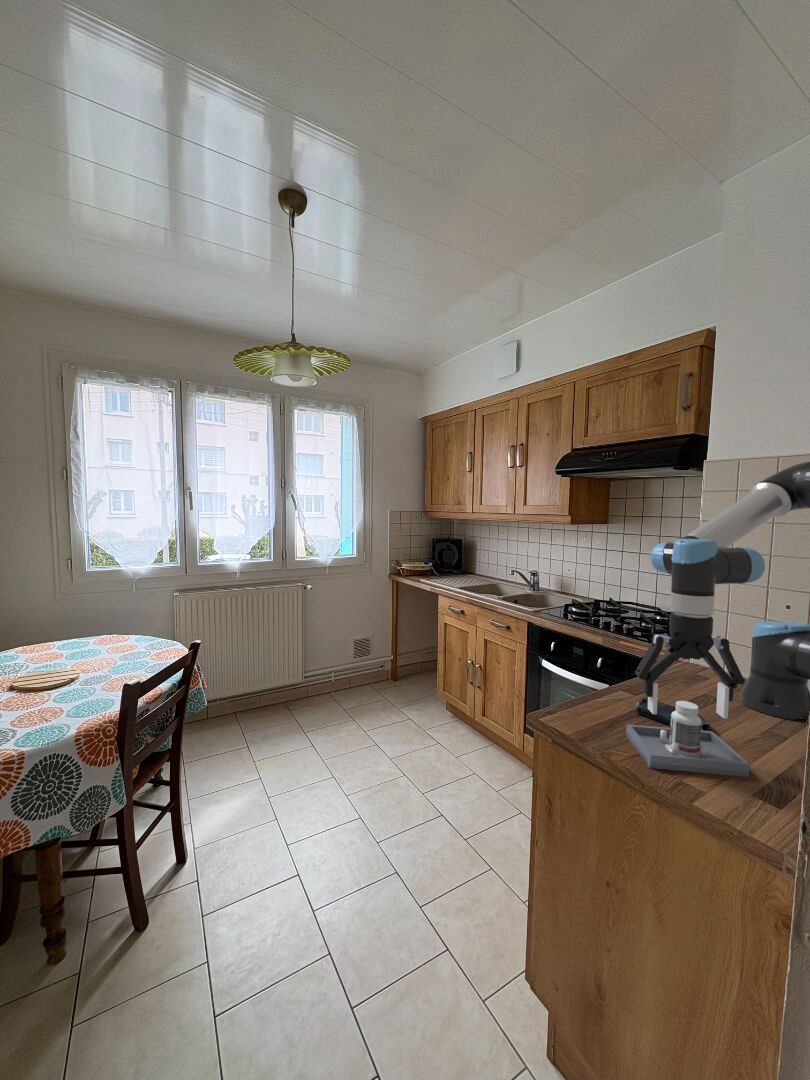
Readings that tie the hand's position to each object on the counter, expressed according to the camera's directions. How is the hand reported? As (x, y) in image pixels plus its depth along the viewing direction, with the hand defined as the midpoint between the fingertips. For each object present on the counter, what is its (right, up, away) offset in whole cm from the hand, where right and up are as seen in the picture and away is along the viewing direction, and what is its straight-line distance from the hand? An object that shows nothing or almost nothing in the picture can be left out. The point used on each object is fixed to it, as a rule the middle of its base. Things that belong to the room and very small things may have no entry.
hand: (686, 713), depth 92 cm
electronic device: (+7, -9, +16) cm, 20 cm away
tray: (-1, -9, 0) cm, 9 cm away
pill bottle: (0, -8, 0) cm, 8 cm away
